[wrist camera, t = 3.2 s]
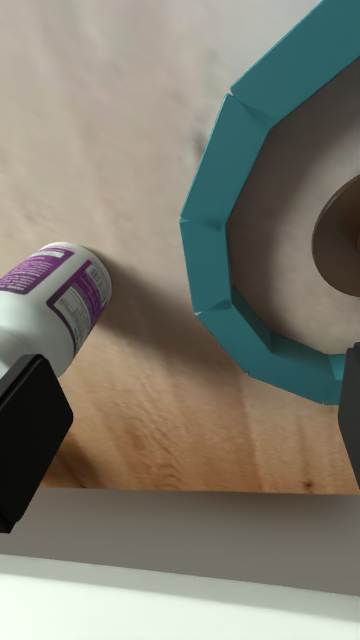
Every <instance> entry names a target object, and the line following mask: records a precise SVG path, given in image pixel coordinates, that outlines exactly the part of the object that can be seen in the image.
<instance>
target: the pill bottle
mask: <svg viewBox="0 0 360 640" xmlns="http://www.w3.org/2000/svg"><path fill="white" fill-rule="evenodd" d="M111 288H112V284H111V280H110V277H109V274H108V271H107V270H106V268H105V267H104V265H103V264H102V263H101V261H100V260H99V259H98V258H97V257H96V256H95V255H94V254H93V253H92V252H90V251H89V250H87V249H85V248H84V247H82V246H79V245H76V244H72V243H68V242H56V243H52V244H49V245H47V246H45V247H43V248H41V249H40V250H38V251H37V252H35V253H34V254H33V255H31V256H30V257H29V258H27V259H26V260H25V261H23V262H22V263H20V264H19V265H18V266H16V267H15V268H14V269H12V270H11V271H10V272H8V273H7V274H6V275H4V276H3V277H2V278H0V379H1V378H2V377H3V375H4V374H5V373H6V372H7V371H8V370H9V369H10V368H11V367H12V365H13V364H14V363H15V362H16V361H17V360H18V359H19V358H20V357H21V356H22V355H24V354H42V355H43V356H44V357H45V358H47V359H48V360H49V362H50V364H51V366H52V369H53V371H54V373H55V375H56V377H57V378H59V377H60V376H61V375H62V374H63V373H64V372H65V371H66V369H67V368H68V367H69V365H71V363H72V361H73V359H74V357H75V356H76V354H77V353H78V351H79V350H80V348H81V347H82V345H83V343H84V342H85V340H86V339H87V337H88V335H89V334H90V332H91V330H92V329H93V327H94V326H95V324H96V322H97V321H98V319H99V318H100V316H101V315H102V313H103V311H104V310H105V308H106V307H107V305H108V303H109V300H110V297H111Z"/></svg>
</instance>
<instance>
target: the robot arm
mask: <svg viewBox="0 0 360 640" xmlns="http://www.w3.org/2000/svg"><path fill="white" fill-rule="evenodd" d="M72 423H73V412H72V410H71V408H70V405H69V403H68V401H67V399H66V397H65V395H64V392H63V390H62V388H61V386H60V384H59V382H58V379H57V377H56V375H55V373H54V371H53V369H52V366H51V364H50V362H49V360H48V359H47V358H45V357H44V356H43V355H42V354H24V355H22V356H21V357H20V358H19V359H18V360H17V361H16V362H15V363H14V364H13V365H12V367H11V368H10V369H9V370H8V371H7V372H6V373H5V374H4V375H3V377H2V378H1V379H0V533H8V534H9V533H10V532H11V530H12V529H13V526H14V525H15V523H16V522H18V521H19V520H20V519H21V518H22V516H23V515H24V513H25V511H26V509H27V507H28V505H29V503H30V501H31V500H32V498H33V496H34V494H35V492H36V490H37V488H38V487H39V485H40V483H41V481H42V479H43V477H44V475H45V473H46V472H47V470H48V468H49V466H50V464H51V462H52V460H53V458H54V457H55V455H56V453H57V451H58V449H59V447H60V445H61V444H62V442H63V440H64V438H65V436H66V434H67V432H68V430H69V429H70V427H71V425H72ZM338 424H339V428H340V431H341V434H342V437H343V440H344V443H345V446H346V450H347V453H348V456H349V459H350V462H351V465H352V468H353V471H354V474H355V477H356V480H357V483H358V486H359V489H360V342H356V343H355V344H354V347H353V348H348V349H347V351H346V358H345V365H344V373H343V380H342V387H341V395H340V402H339V410H338ZM0 640H360V597H358V596H350V595H343V594H335V593H328V592H321V591H314V590H306V589H299V588H292V587H284V586H276V585H268V584H260V583H252V582H242V581H234V580H225V579H217V578H208V577H200V576H192V575H183V574H174V573H167V572H157V571H149V570H139V569H131V568H122V567H113V566H104V565H96V564H87V563H77V562H68V561H59V560H51V559H41V558H32V557H22V556H13V555H4V554H0Z"/></svg>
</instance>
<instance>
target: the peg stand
mask: <svg viewBox="0 0 360 640" xmlns="http://www.w3.org/2000/svg"><path fill="white" fill-rule="evenodd" d="M312 255H313V259H314V262H315V265H316V267H317V269H318V271H319V273H320V274H321V276H322V277H323V278H324V280H325V281H326V282H327V283H328V284H329V285H331V286H332V287H334V288H335V289H337V290H339V291H341V292H343V293H345V294H348V295H352V296H356V297H360V174H359V175H358V176H356V177H354V178H353V179H351V180H350V181H349V182H347V183H346V184H345V185H343V186H342V187H341V188H340V189H339V190H338V191H337V192H336V193H335V194H334V195H333V196H332V197H331V199H330V200H329V201H328V202H327V204H326V205H325V207H324V208H323V210H322V211H321V213H320V215H319V217H318V219H317V222H316V224H315V227H314V231H313V236H312Z"/></svg>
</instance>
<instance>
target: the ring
mask: <svg viewBox="0 0 360 640" xmlns="http://www.w3.org/2000/svg"><path fill="white" fill-rule="evenodd" d="M359 57H360V0H322V1H321V2H320V3H319V4H318V5H317V6H316V7H315V8H314V9H313V10H312V11H311V12H310V13H308V14H307V15H306V16H305V17H304V18H303V19H302V20H301V21H300V22H299V23H298V24H297V25H296V26H295V27H294V28H292V29H291V30H290V31H289V32H288V33H287V34H286V35H285V36H284V37H283V38H282V39H281V40H280V41H279V42H278V43H276V44H275V45H274V46H273V47H272V48H271V49H270V50H269V51H268V52H267V53H266V54H265V55H264V56H263V57H262V58H260V59H259V60H258V61H257V62H256V63H255V64H254V65H253V66H252V67H251V68H250V69H249V70H248V71H247V72H246V73H244V74H243V75H242V76H241V77H240V78H239V79H238V80H237V81H236V82H235V83H234V84H233V85H232V86H231V87H230V88H231V92H232V93H233V95H234V96H232V95H230V94H226V95H225V97H224V100H223V102H222V105H221V108H220V110H219V113H218V116H217V118H216V121H215V124H214V126H213V129H212V132H211V134H210V137H209V140H208V142H207V145H206V147H205V150H204V153H203V155H202V158H201V161H200V163H199V166H198V169H197V171H196V174H195V177H194V179H193V182H192V185H191V187H190V190H189V192H188V195H187V198H186V200H185V203H184V206H183V208H182V211H181V214H180V217H181V219H180V221H179V224H180V230H181V236H182V243H183V249H184V255H185V261H186V268H187V274H188V280H189V287H190V293H191V299H192V306H193V311H194V312H196V317H197V318H198V319H199V320H200V321H201V323H202V324H203V325H204V326H205V327H206V328H207V330H208V331H209V332H210V333H211V334H212V335H213V336H214V338H215V339H216V340H217V341H218V342H219V343H220V345H221V346H222V347H223V348H224V349H225V350H226V352H227V353H228V354H229V355H230V356H231V357H232V358H233V360H234V361H235V362H236V363H237V364H238V365H239V367H240V368H241V369H242V370H243V371H244V372H245V373H247V372H248V376H251V377H253V378H256V379H258V380H261V381H263V382H266V383H269V384H271V385H274V386H276V387H279V388H281V389H284V390H286V391H289V392H291V393H294V394H296V395H299V396H301V397H304V398H307V399H309V400H312V401H314V402H317V403H319V404H322V403H323V402H324V404H325V405H339V402H340V395H341V387H342V380H343V373H344V365H345V358H346V354H339V355H326V354H324V353H321V352H319V351H316V350H314V349H311V348H309V347H306V346H304V345H302V344H299V343H297V342H294V341H292V340H289V339H287V338H284V337H282V336H280V335H277V334H275V333H272V332H270V331H269V330H268V329H267V328H266V326H265V325H264V324H263V323H262V321H261V320H260V319H259V317H258V316H257V315H256V313H255V312H254V311H253V310H252V308H251V307H250V306H249V304H248V303H247V302H246V300H245V299H244V298H243V297H242V295H241V294H240V293H239V291H238V290H237V289H236V287H235V286H234V285H233V284H232V272H231V259H230V247H229V234H228V222H227V221H228V219H229V217H230V215H231V213H232V211H233V208H234V206H235V204H236V202H237V200H238V198H239V196H240V194H241V191H242V189H243V187H244V185H245V183H246V181H247V179H248V177H249V174H250V172H251V170H252V168H253V166H254V164H255V162H256V160H257V157H258V155H259V153H260V151H261V149H262V147H263V145H264V143H265V140H266V138H267V136H268V134H269V132H270V130H271V129H272V128H273V127H275V126H276V125H277V124H278V123H279V122H281V121H282V120H283V119H284V118H286V117H287V116H288V115H289V114H290V113H292V112H293V111H294V110H295V109H297V108H298V107H299V106H300V105H302V104H303V103H304V102H305V101H306V100H308V99H309V98H310V97H311V96H313V95H314V94H315V93H316V92H318V91H319V90H320V89H321V88H322V87H324V86H325V85H326V84H327V83H329V82H330V81H331V80H332V79H333V78H335V77H336V76H337V75H338V74H340V73H341V72H342V71H343V70H345V69H346V68H347V67H348V66H349V65H351V64H352V63H353V62H354V61H356V60H357V59H358V58H359Z"/></svg>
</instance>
